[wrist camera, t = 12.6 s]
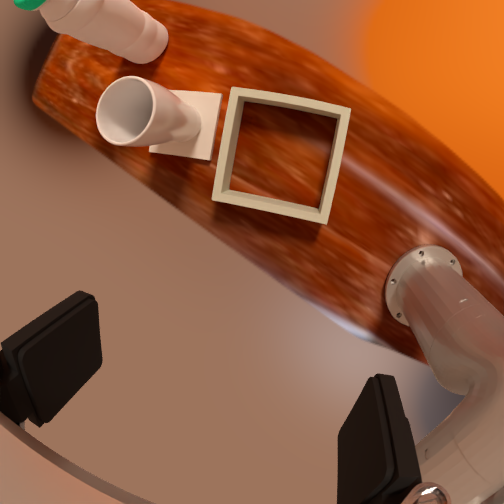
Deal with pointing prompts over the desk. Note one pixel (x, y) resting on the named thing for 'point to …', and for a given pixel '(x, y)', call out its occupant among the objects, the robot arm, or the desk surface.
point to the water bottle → (105, 25)
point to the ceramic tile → (205, 137)
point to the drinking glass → (144, 114)
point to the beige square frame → (230, 142)
